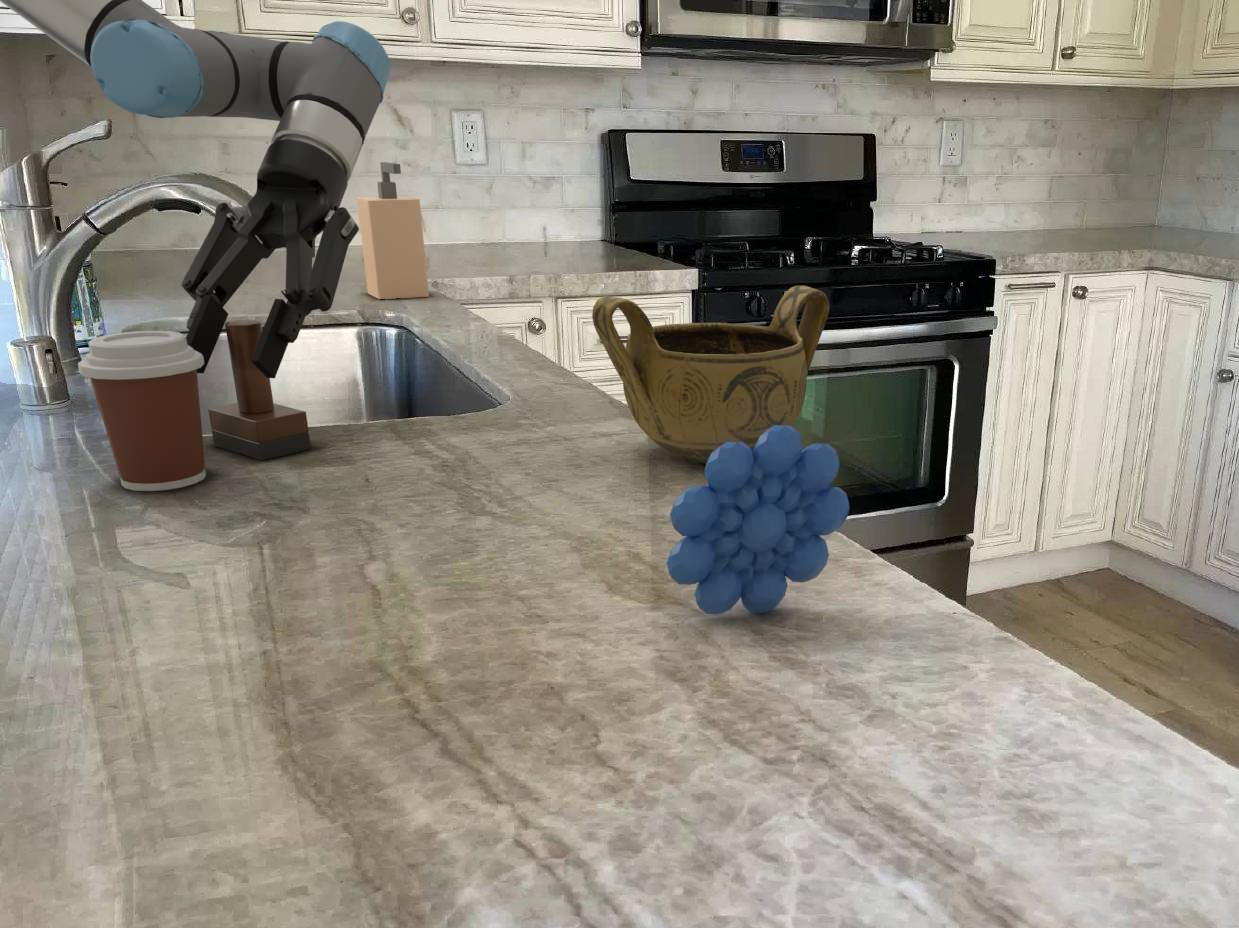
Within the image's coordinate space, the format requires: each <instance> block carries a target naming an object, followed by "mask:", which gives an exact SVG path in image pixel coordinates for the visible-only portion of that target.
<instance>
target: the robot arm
mask: <svg viewBox="0 0 1239 928" xmlns="http://www.w3.org/2000/svg"><path fill="white" fill-rule="evenodd" d="M0 3H2V4H3V5H5V7H7V8H9V9H10V10H11V11H13V12H14V13H16V14H17V15H18V16H20V17H21V18H22V19H24V20H25V21H27V22H28V23H29V24H31V25H32V26H33V27H35V28H36V29H38V30H39V31H40V32H42V33H43V34H45V35H46V36H48V37H49V38H50V39H51V40H53V41H54V42H56V43H57V44H59V45H60V46H61V47H63V48H64V49H66V50H67V51H68V52H69V53H70V54H72V55H74V56H75V57H76V58H78V59H79V60H81V61H82V62H83V63H84V64H86V65H87V66H89V67H91V70H92V71H91V72H92V74H93V76H94V79H95V81H96V82H97V83H98V85H99V87H100V89H101V90H102V91H103V94H104V96H105V97H107V99H108V100H109V101H111V102H112V104H114V105H116V106H118V107H119V108H121V109H123V110H124V111H127V112H130V113H133V114H137V115H144V116H147V117H151V118H155V119H172V118H173V119H174V118H189V117H191V118H193V117H194V118H195V117H196V118H197V117H206V118H208V117H210V118H246V119H256V120H266V121H274V122H275V121H276V122H278V124H277V127H276V128H275V131H274V133H273V135H272V137H271V139H270V145H268V147H267V150H266V152H265V154H264V156H263V159H262V161H261V164H260V166H259V169H258V171H257V173H256V192H255V193H254V194H253V196H252V197H250V199H249V200H248V201H247V202H246V204H245V206H240V207H235V208H231V207H230V206H229V204H228V203H226V202H222V203H219V204H217V206H216V208H215V213H214V218H213V219H214V220H213V224H212V226H211V227H210V229H209V231H208V233H207V235H206V237H205V239H204V240H203V241H202V243H201V246H200V247H199V249H198V251H197V253H196V254H195V256H194V258H193V261H192V262H191V264H190V266H189V268H188V270H187V271H186V274H185V275H184V276H183V279H182V280H181V284H180V285H181V288H183V290H184V291H185V292H186V293H187V294H188V295H189V297H191V299H193V300H194V301H195V303H194V305H193V307H192V309H191V312H190V314H189V315H188V316H189V317H188V318H187V321H186V329H187V330H188V332H187V334H186V335H185V336H186V340H187V345H189V346H190V347H192V348H193V349H194V351H197V352H199V353H201V354H202V355H203V358H204V364H203V366H202V367H201V368H198V369H197V374H204V373H205V371H206V369H207V367H208V364H209V362H210V360H211V357H212V355H213V353H214V350H215V348H216V345H217V342H218V340H219V338H220V336H221V334H222V331H223V328H224V326H225V323H226V322H227V319H228V316H229V312H228V311H227V310H226V309H225V308H224V307H225V305H226V304H227V303H228V301H230V299H231V298H232V297H233V296H234V294H235V293H236V292H237V290H238V289H240V287H241V286H242V285H243V283H244V282H245V281H246V280H247V278H248V277H249V276H250V274H252V272H253V271H254V269H255V268H256V267H257V266H258V264H259V263H260V262H261V261H262V260H263V259H266V260H267V259H269V258H270V257H271V255H272V254H273V253H274V252H275V251H276V250H277V249H282V248H285V249H286V251H285V253H286V254H285V289H283V290H282V289H281V290H280V291H281V294H282V295H283V296H284V298H285V299H286V300H287V301H285V300H284V299H283V298H274V300H273V303H272V306H271V309H270V311H269V313H268V316H267V318H266V321H265V323H264V327H262V330H263V331H262V333H261V336H260V338H259V341H258V343H257V346H256V348H255V351H254V353H253V356H252V358H251V361H252V363H253V364H254V365H255V366H256V367H257V368H258V369H259V370H260V371H261V372H262V373H263V374H264V375H265V376H266V377H267V378H270V379H276V376H277V374H278V371H279V370H280V367H281V363H282V361H283V358H284V356H285V353H286V351H287V348H288V345H289V344H293V343H295V342H296V340H297V339H298V337H299V335H300V332H301V329H302V327H303V323H304V321H305V319H306V317H308V316H309V315H310V314H311V313H312V311H316V310H320V311H321V312H327V311H329V310H330V309H332V306H333V302H334V299H335V297H336V292H337V289H338V284H339V281H340V278H341V274H342V270H343V267H344V263H345V260H346V256H347V252H348V250H349V245H350V244H351V243H352V241H353V240H354V238H355V237H356V235H357V233H358V232H359V230H360V226H359V225H358V224H357V223H356V221H355V220H354V218H353V216H352V215H351V214H350V212H349V211H348V209H347V208H346V207H343V206H341V204H342V201H343V199H344V196H345V194H346V191H347V189H348V182H349V181H350V178H351V177H352V175H353V173H354V169H355V166H356V164H357V162H358V159H359V156H360V154H361V151H362V148H363V146H364V143H365V140H366V137H367V134H368V132H369V130H370V127H371V125H372V123H373V120H374V118H375V115H376V113H377V111H378V109H379V106H380V105H381V104H382V102H383V100H384V94H385V90H386V86H387V82H388V80H389V76H390V72H391V63H390V57H389V55H388V54H387V51H386V49H385V47H384V46H383V44H382V43H381V42H380V41H379V40H378V38H376V36H375V35H373V34H372V33H370V32H369V31H367V29H365V28H363V27H361V26H359V25H357V24H354V23H351V22H349V21H348V22H347V21H343V20H341V21H340V20H339V21H336V20H335V21H333V22H330V23H328V24H325V25H323V26H321V27H320V29H319V30H318V32H317V34H315V35H314V36H313V39H312V41H311V43H308V42H302V41H288V40H285V41H281V40H275V39H269V38H262V37H255V36H248V35H243V34H242V35H240V34H234V33H228V32H224V31H216V30H203V29H199V28H190V27H189V28H188V27H183V26H180V25H178V24H176V23H174V22H173V21H172V20H171V19H169V18H168V17H166V16H164V15H163V14H162V13H161V12H159V11H158V10H156V9H155V8H154V7H152V6H151V5H150V4H148V3H147V2H145V1H143V0H0ZM321 233H322V234H321ZM320 234H321V236H320V241H319V244H318V247H317V251H316V239H317V237H318V235H320ZM313 259H314V261H313Z"/></svg>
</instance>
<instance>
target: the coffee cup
mask: <svg viewBox="0 0 1239 928" xmlns="http://www.w3.org/2000/svg"><path fill="white" fill-rule="evenodd" d="M186 336H187V335H184V334H183V333H181V332H178V331H172V330H137V331H135V330H134V331H125V332H117V333H109V334H104V335H101V336H96V337H94V338H92V339H91V340H90V341H88V343H87V344H88V348H89V352H88V353H87V354H85V356H84V358H83V359H81V360H80V361H78V363H77V368H78V373H79V374H80V375H81V376H82V377H84V378H89V379H90V382H91V387H92V389H93V392H94V395H95V400H96V402H97V405H98V409H99V412H100V417H101V419H102V422H103V425H104V430H105V432H106V435H107V438H108V442H109V445H110V449H111V453H112V455H113V459H114V462H115V465H116V468H117V471H118V475H119V479H120V483H121V485H122V487H123V488H124V489H126V490H131V491H135V492H136V491H137V492H157V491H159V492H160V491H168V490H174V489H180V488H185V487H188V486H191V485H195V484H198V483H199V482H201V481H203V480H205V478H206V476H207V472H206V465H205V453H204V441H203V439H204V438H203V428H202V416H201V404H200V392H199V381H198V373H197V369H198V368H201V367H202V366H203V364H204V358H203V355H202V354H201V353H199V352H197V351H194V349H193V348H192V347H190V346H189V345H187V340H186Z"/></svg>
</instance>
